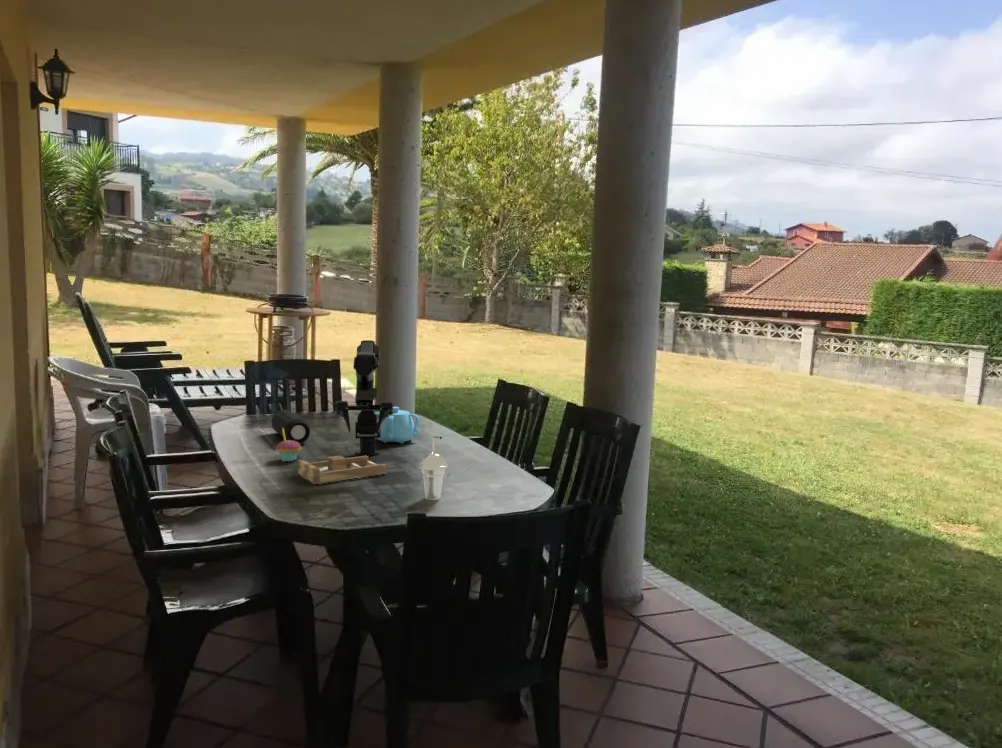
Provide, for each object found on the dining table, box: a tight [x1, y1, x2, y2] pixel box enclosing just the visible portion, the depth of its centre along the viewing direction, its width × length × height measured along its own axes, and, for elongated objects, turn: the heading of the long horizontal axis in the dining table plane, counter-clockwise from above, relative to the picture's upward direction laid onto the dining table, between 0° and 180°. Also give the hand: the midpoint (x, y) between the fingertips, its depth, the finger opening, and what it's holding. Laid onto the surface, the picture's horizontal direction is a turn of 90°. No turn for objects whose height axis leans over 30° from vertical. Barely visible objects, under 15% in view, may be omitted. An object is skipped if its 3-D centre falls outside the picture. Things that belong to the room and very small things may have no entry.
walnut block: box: [327, 455, 347, 471], centre depth 262 cm, size 4×4×4 cm
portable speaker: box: [271, 409, 311, 444], centre depth 314 cm, size 26×10×10 cm, turn 29°
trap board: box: [297, 455, 387, 483], centre depth 264 cm, size 14×25×5 cm, turn 126°
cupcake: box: [275, 427, 302, 462], centre depth 280 cm, size 9×8×12 cm
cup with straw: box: [418, 435, 448, 501], centre depth 239 cm, size 8×9×20 cm
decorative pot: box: [374, 406, 421, 445], centre depth 315 cm, size 16×16×14 cm
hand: (363, 432), depth 261 cm, fingers open, 9 cm apart
